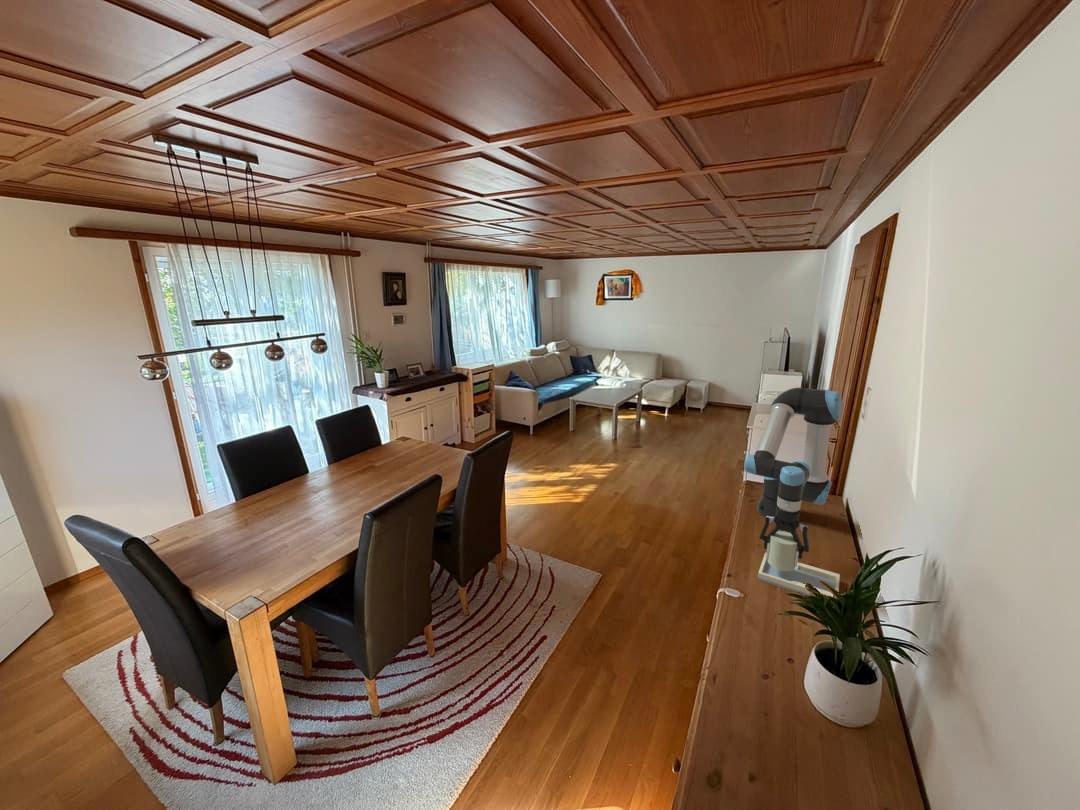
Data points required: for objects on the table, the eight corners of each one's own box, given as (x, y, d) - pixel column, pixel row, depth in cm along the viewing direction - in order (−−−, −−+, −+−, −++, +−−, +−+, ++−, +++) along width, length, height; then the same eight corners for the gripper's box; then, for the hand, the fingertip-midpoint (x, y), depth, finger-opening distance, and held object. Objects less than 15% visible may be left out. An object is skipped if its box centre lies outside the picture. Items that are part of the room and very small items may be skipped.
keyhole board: (764, 558, 172) (765, 552, 171) (838, 581, 157) (839, 574, 157) (757, 579, 160) (758, 572, 160) (836, 605, 146) (838, 598, 145)
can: (799, 572, 156) (802, 544, 152) (771, 570, 158) (775, 542, 154) (789, 557, 164) (793, 530, 161) (764, 555, 166) (767, 528, 163)
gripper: (754, 504, 158) (748, 556, 164) (822, 520, 145) (814, 575, 151) (757, 496, 164) (752, 546, 170) (823, 511, 151) (815, 564, 157)
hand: (781, 560), depth 161 cm, fingers closed on can, 9 cm apart
